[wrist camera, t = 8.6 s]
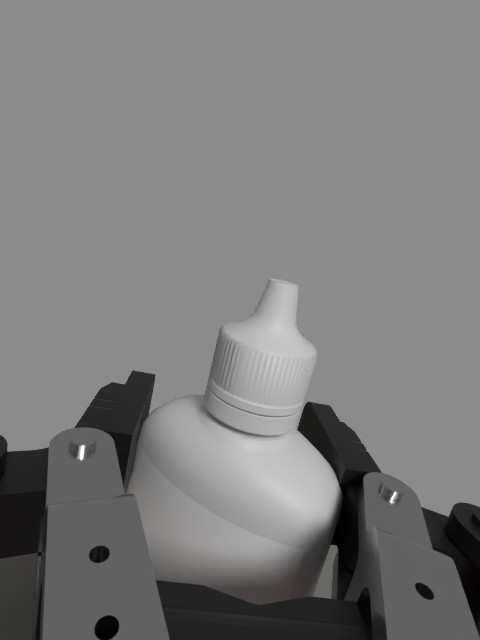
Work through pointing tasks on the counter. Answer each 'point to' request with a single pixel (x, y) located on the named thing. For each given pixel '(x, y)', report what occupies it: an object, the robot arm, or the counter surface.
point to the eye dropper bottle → (241, 467)
